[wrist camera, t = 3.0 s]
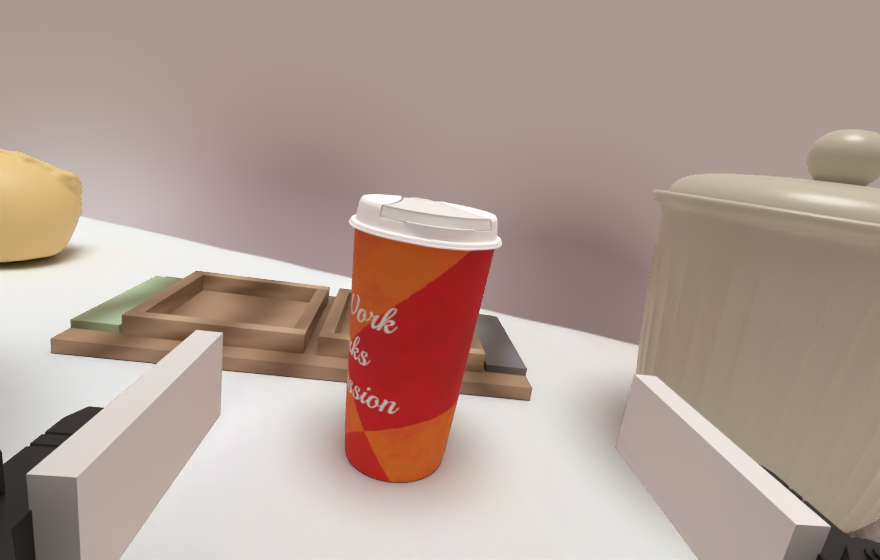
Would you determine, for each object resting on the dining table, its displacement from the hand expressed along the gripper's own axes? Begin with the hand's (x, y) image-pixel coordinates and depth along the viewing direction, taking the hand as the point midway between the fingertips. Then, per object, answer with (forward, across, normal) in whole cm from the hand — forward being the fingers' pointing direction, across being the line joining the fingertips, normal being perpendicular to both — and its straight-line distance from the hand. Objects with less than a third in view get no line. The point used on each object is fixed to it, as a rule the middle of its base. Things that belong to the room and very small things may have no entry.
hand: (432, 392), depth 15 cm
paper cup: (+10, 0, -9) cm, 14 cm away
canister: (+11, +22, -9) cm, 26 cm away
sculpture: (+37, -40, -9) cm, 55 cm away
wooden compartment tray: (+26, -7, -9) cm, 28 cm away
